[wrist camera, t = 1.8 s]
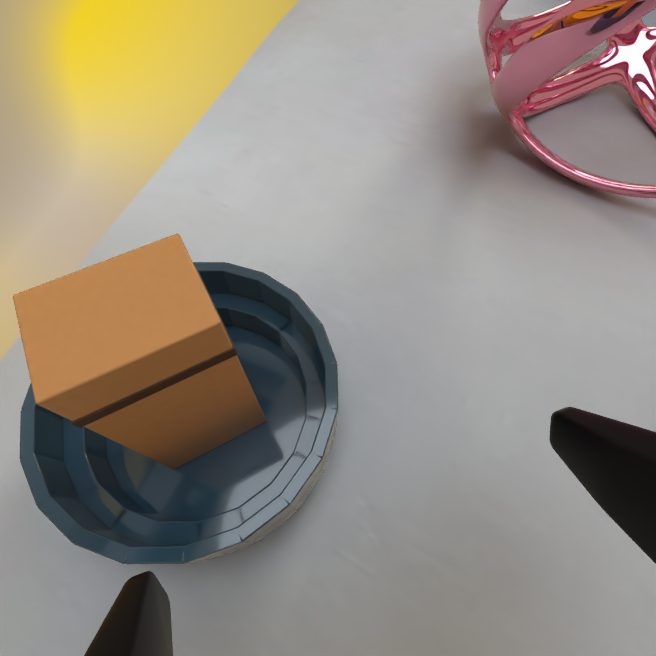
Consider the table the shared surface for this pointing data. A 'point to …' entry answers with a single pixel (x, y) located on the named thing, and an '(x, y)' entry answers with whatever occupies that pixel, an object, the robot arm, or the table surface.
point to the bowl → (212, 467)
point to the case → (138, 355)
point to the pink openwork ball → (557, 53)
